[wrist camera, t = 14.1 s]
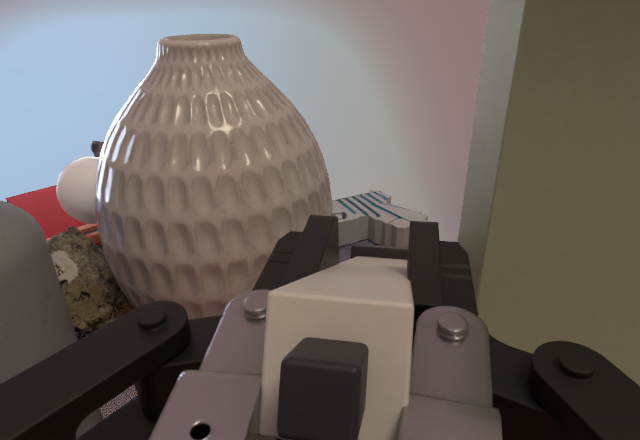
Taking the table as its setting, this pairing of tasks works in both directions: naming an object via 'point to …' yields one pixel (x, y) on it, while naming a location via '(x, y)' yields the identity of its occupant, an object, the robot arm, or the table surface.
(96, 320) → the rock
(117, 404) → the table surface
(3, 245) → the water bottle
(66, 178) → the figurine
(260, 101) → the vase
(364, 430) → the marker
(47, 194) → the book
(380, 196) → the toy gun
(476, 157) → the green railed pedestal
